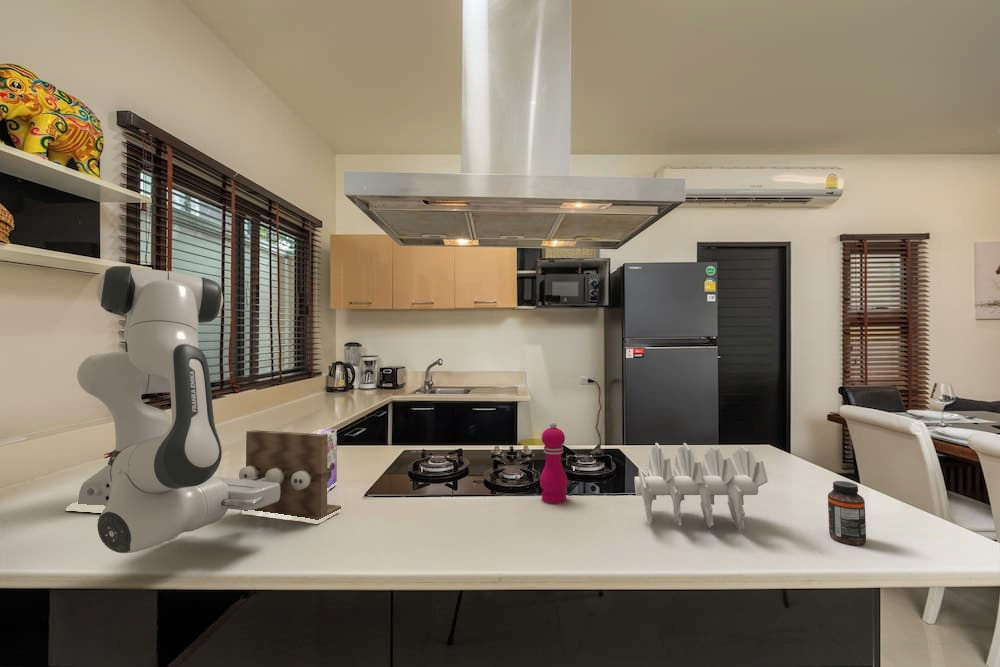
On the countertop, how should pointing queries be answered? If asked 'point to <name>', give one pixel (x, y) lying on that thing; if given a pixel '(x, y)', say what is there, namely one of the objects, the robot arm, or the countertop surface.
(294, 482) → the two dot button
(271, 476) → the plain button
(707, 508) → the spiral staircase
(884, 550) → the countertop surface
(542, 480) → the pepper mill
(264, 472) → the button panel
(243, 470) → the one dot button
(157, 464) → the robot arm
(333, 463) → the candy box
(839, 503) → the supplement bottle
